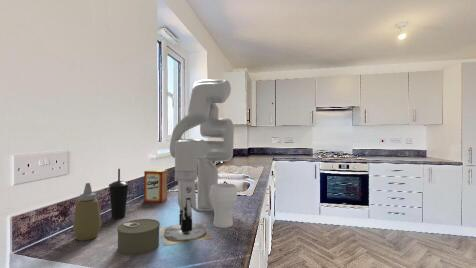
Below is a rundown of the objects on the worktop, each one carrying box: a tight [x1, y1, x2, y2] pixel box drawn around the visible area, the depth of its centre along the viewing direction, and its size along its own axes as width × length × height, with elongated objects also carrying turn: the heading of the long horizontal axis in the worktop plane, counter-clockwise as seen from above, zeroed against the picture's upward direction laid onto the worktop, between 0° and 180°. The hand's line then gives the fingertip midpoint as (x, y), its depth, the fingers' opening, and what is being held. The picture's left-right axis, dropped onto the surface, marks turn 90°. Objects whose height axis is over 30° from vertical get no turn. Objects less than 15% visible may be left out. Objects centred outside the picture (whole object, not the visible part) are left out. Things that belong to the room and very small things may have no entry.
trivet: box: [159, 222, 215, 247], centre depth 88 cm, size 16×16×1 cm
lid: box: [164, 215, 207, 241], centre depth 88 cm, size 14×14×6 cm
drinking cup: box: [108, 168, 130, 219], centre depth 105 cm, size 8×8×20 cm
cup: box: [210, 182, 238, 229], centre depth 97 cm, size 11×11×15 cm
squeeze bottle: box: [72, 182, 102, 242], centre depth 84 cm, size 8×8×18 cm
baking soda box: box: [143, 168, 168, 204], centre depth 132 cm, size 10×6×16 cm
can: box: [116, 218, 161, 257], centre depth 77 cm, size 12×12×7 cm
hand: (185, 227), depth 88 cm, fingers open, 5 cm apart
